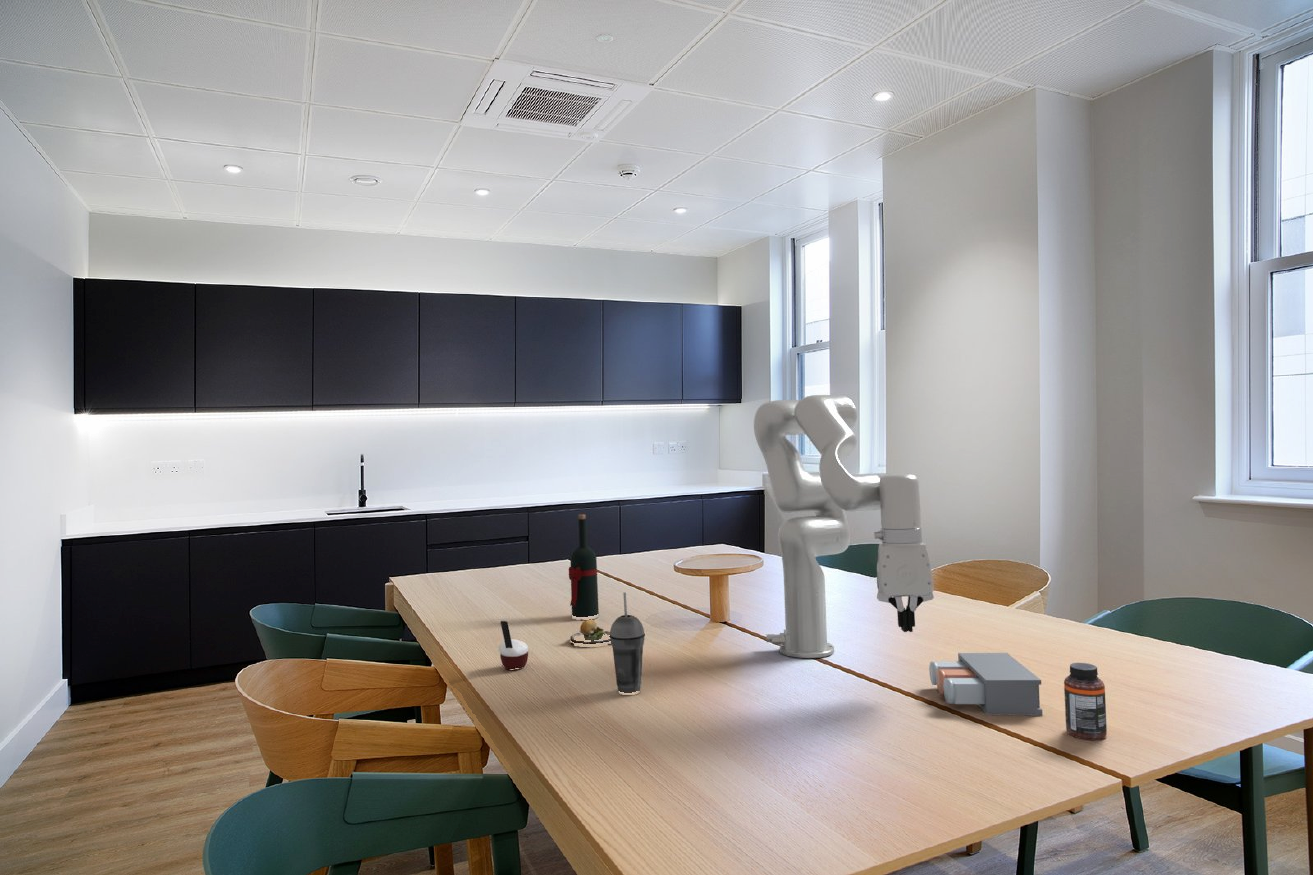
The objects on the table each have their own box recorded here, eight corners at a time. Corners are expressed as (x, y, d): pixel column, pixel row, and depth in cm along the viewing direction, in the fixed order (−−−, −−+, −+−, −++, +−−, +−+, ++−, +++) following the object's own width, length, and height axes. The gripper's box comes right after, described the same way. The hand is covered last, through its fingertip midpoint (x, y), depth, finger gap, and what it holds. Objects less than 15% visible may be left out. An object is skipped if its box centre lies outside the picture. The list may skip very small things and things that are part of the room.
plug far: (935, 688, 154) (934, 665, 154) (929, 681, 158) (928, 659, 158) (983, 687, 153) (982, 665, 153) (976, 681, 157) (975, 658, 157)
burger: (622, 645, 199) (621, 615, 199) (577, 651, 195) (576, 620, 195) (607, 635, 211) (606, 606, 211) (564, 640, 206) (563, 611, 206)
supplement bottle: (1070, 725, 135) (1067, 658, 135) (1110, 732, 131) (1107, 664, 131) (1062, 736, 130) (1059, 667, 130) (1103, 744, 126) (1100, 672, 126)
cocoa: (518, 661, 186) (517, 610, 186) (538, 665, 182) (536, 613, 182) (488, 672, 178) (486, 618, 178) (507, 676, 175) (505, 621, 175)
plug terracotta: (942, 697, 148) (941, 673, 148) (936, 689, 152) (935, 666, 153) (992, 697, 147) (991, 673, 147) (985, 689, 152) (984, 666, 152)
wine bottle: (561, 620, 228) (558, 516, 228) (582, 613, 237) (579, 513, 237) (583, 623, 224) (580, 517, 224) (604, 615, 233) (600, 513, 233)
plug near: (950, 707, 143) (949, 682, 143) (943, 699, 147) (943, 675, 147) (1002, 707, 142) (1001, 682, 142) (994, 699, 146) (993, 675, 146)
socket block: (987, 715, 141) (986, 680, 141) (959, 684, 159) (958, 653, 159) (1042, 715, 140) (1041, 680, 140) (1008, 684, 158) (1006, 652, 158)
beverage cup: (615, 699, 156) (612, 598, 156) (607, 689, 163) (604, 591, 163) (651, 695, 158) (647, 595, 158) (642, 685, 165) (638, 588, 165)
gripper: (866, 540, 153) (871, 635, 153) (945, 537, 152) (951, 634, 151) (860, 536, 161) (865, 627, 160) (936, 533, 159) (941, 625, 159)
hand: (906, 630), depth 156 cm, fingers closed
